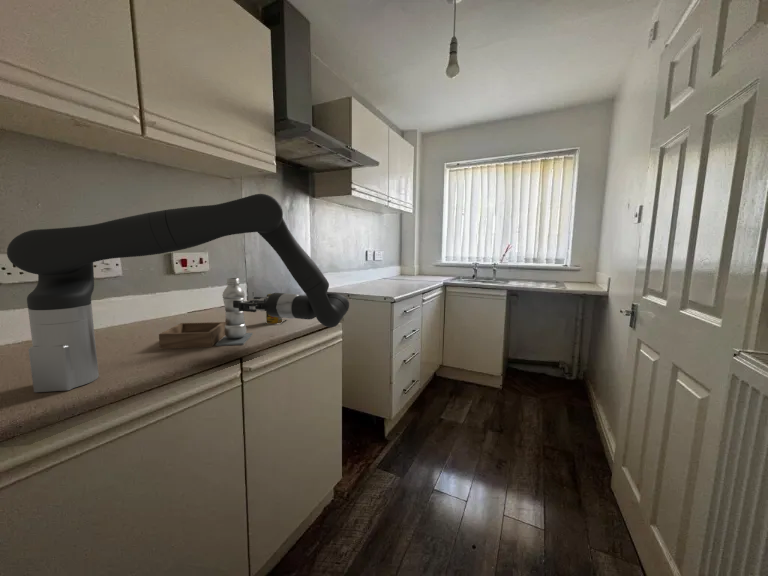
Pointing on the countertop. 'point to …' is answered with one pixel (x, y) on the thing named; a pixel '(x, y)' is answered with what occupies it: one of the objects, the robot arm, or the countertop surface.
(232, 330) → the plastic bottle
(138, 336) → the countertop surface
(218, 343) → the grey mat
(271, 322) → the condiment
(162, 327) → the countertop surface
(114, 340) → the countertop surface
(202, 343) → the walnut frame
